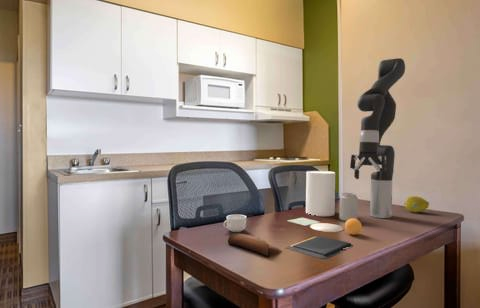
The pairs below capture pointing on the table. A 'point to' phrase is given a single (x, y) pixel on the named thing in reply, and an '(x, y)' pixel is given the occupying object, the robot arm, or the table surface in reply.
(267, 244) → the sunglasses case
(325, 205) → the canister
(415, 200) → the lemon
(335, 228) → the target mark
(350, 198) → the can
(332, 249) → the wallet
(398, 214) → the table surface
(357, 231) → the ball
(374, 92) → the robot arm
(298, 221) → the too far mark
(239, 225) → the teacup
